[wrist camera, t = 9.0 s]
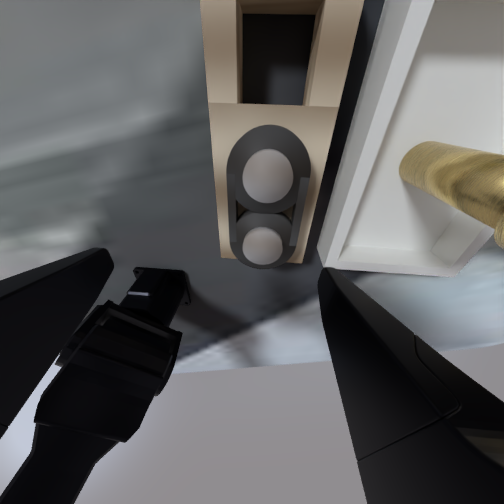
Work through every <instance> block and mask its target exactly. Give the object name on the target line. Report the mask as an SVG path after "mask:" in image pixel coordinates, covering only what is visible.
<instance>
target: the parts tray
mask: <svg viewBox="0 0 504 504" xmlns="http://www.w3.org/2000/svg"><path fill="white" fill-rule="evenodd" d="M426 141H436V142H441V143H446V144H451V145H456V146H461V147H466V148H471V149H476V150H481V151H486V152H491V153H497V154H502V155H504V0H385V3H384V6H383V10H382V13H381V17H380V21H379V24H378V28H377V31H376V35H375V39H374V42H373V46H372V50H371V53H370V57H369V60H368V64H367V68H366V71H365V75H364V78H363V82H362V86H361V89H360V93H359V96H358V100H357V104H356V107H355V111H354V114H353V118H352V122H351V125H350V129H349V132H348V136H347V140H346V143H345V147H344V151H343V154H342V158H341V161H340V165H339V169H338V172H337V176H336V179H335V183H334V187H333V190H332V194H331V197H330V201H329V205H328V208H327V212H326V215H325V219H324V223H323V226H322V230H321V234H320V237H319V241H318V244H317V250H318V253H319V255H320V258H321V261H322V264H323V267H333V268H335V269H343V270H358V271H372V272H386V273H401V274H415V275H429V276H443V277H455V276H456V275H457V274H458V273H459V272H460V270H461V269H462V268H463V267H464V266H465V265H466V264H467V263H468V261H469V260H470V259H471V258H472V257H473V256H474V255H475V254H476V253H477V251H478V250H479V249H480V248H481V247H482V246H483V245H484V244H485V242H486V241H487V240H488V239H489V238H490V237H491V236H492V235H493V233H494V231H495V229H493V228H491V227H489V226H488V225H486V224H484V223H482V222H480V221H478V220H476V219H475V218H473V217H471V216H469V215H467V214H465V213H463V212H462V211H460V210H458V209H456V208H454V207H452V206H450V205H448V204H447V203H445V202H443V201H441V200H439V199H437V198H435V197H434V196H432V195H430V194H428V193H426V192H424V191H422V190H421V189H419V188H417V187H415V186H413V185H411V184H409V183H407V182H406V181H404V180H402V178H401V177H400V175H399V165H400V163H401V160H402V159H403V157H404V156H405V154H406V153H407V152H408V151H409V150H410V149H412V148H413V147H414V146H416V145H418V144H420V143H422V142H426Z"/></svg>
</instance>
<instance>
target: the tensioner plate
mask: <svg viewBox="0 0 504 504" xmlns="http://www.w3.org/2000/svg"><path fill="white" fill-rule="evenodd" d="M363 3H364V0H200V7H201V19H202V31H203V43H204V55H205V68H206V80H207V92H208V104H209V116H210V128H211V140H212V152H213V164H214V176H215V188H216V200H217V212H218V225H219V237H220V249H221V258H232V259H238V260H239V261H241V262H242V263H243V264H245V265H247V266H249V267H252V268H257V269H270V268H275V267H278V266H280V265H282V264H284V263H285V262H290V263H302V261H303V257H304V253H305V249H306V244H307V240H308V236H309V232H310V227H311V223H312V219H313V215H314V210H315V206H316V202H317V198H318V194H319V189H320V185H321V181H322V177H323V172H324V168H325V164H326V160H327V155H328V151H329V147H330V143H331V139H332V134H333V130H334V126H335V122H336V117H337V113H338V109H339V105H340V100H341V96H342V92H343V88H344V84H345V79H346V75H347V71H348V67H349V62H350V58H351V54H352V50H353V46H354V41H355V37H356V33H357V29H358V24H359V20H360V16H361V12H362V7H363ZM243 13H244V14H309V15H316V17H315V23H314V30H313V37H312V44H311V51H310V58H309V64H308V71H307V78H306V85H305V92H304V99H303V105H302V106H295V105H267V104H243Z"/></svg>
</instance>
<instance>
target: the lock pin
mask: <svg viewBox="0 0 504 504" xmlns="http://www.w3.org/2000/svg"><path fill="white" fill-rule="evenodd" d="M399 175H400V177H401V178H402V180H404V181H406V182H407V183H409V184H411V185H413V186H415V187H417V188H419V189H421V190H422V191H424V192H426V193H428V194H430V195H432V196H434V197H435V198H437V199H439V200H441V201H443V202H445V203H447V204H448V205H450V206H452V207H454V208H456V209H458V210H460V211H462V212H463V213H465V214H467V215H469V216H471V217H473V218H475V219H476V220H478V221H480V222H482V223H484V224H486V225H488V226H489V227H491V228H493V229H495V231H494V238H495V241H496V243H497V244H498V245H499V246H500V247H501V248H503V249H504V155H502V154H497V153H491V152H486V151H481V150H476V149H471V148H466V147H461V146H456V145H451V144H446V143H441V142H436V141H426V142H422V143H420V144H418V145H416V146H414V147H413V148H412V149H410V150H409V151H408V152H407V153H406V154H405V156H404V157H403V159H402V160H401V163H400V165H399Z"/></svg>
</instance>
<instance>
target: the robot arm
mask: <svg viewBox="0 0 504 504" xmlns="http://www.w3.org/2000/svg"><path fill="white" fill-rule="evenodd" d="M113 269H114V263H113V260H112V258H111V256H110V254H109V252H108V250H107V249H105V248H92V249H89V250H86V251H83V252H80V253H77V254H74V255H72V256H69V257H66V258H63V259H60V260H57V261H55V262H52V263H49V264H46V265H43V266H40V267H37V268H35V269H32V270H29V271H26V272H23V273H20V274H17V275H15V276H12V277H9V278H6V279H3V280H0V439H1V437H2V436H3V435H4V433H5V432H6V430H7V429H8V426H9V425H10V424H11V423H12V421H13V420H14V418H15V417H16V415H17V414H18V412H19V411H20V410H21V408H22V407H23V405H24V404H25V402H26V401H27V399H28V398H29V397H30V395H31V394H32V392H33V391H34V389H35V388H36V387H37V385H38V384H39V382H40V381H41V379H42V378H43V376H44V375H45V374H46V372H47V371H48V369H49V368H50V366H51V365H52V363H53V362H54V361H55V359H56V358H57V356H58V355H60V356H59V358H58V359H57V361H56V363H55V365H57V366H60V367H62V368H61V369H60V371H59V372H58V373H57V375H56V376H55V377H54V379H53V380H52V381H51V383H50V384H49V385H48V387H47V388H46V389H45V391H44V392H43V394H42V395H41V398H40V401H39V403H38V405H37V409H36V414H35V417H34V423H36V427H35V432H34V438H33V444H32V450H31V452H30V454H29V456H28V457H27V459H26V460H25V461H24V463H23V464H22V466H21V467H20V469H19V470H18V471H17V473H16V474H15V476H14V477H13V479H12V480H11V482H10V483H9V485H8V486H7V487H6V489H5V490H4V492H3V493H2V495H1V496H0V504H74V503H75V501H76V499H77V497H78V495H79V493H80V491H81V490H82V488H83V486H84V484H85V482H86V480H87V478H88V476H89V475H90V473H91V471H92V469H93V467H94V466H95V464H96V463H97V462H98V461H99V460H100V459H101V458H102V457H103V456H104V455H105V454H106V453H107V452H109V451H110V450H111V449H112V448H113V447H114V446H115V445H116V444H117V443H118V442H124V443H125V442H127V440H129V439H130V438H131V436H132V435H133V434H134V433H135V432H136V431H137V430H138V429H139V427H140V425H141V423H142V421H143V418H144V416H145V413H146V411H147V409H148V407H149V405H150V403H151V401H152V400H153V397H154V396H158V395H159V394H160V393H161V391H162V390H163V388H164V387H165V385H166V383H167V382H168V379H169V377H170V375H171V373H172V371H173V368H174V365H175V361H176V357H177V353H178V349H179V345H180V341H181V338H182V334H183V333H182V332H180V331H175V330H173V329H171V328H169V326H170V324H171V321H172V319H173V317H174V315H175V313H176V311H177V308H178V306H179V305H190V303H191V300H190V296H189V292H188V288H187V284H186V279H185V275H184V272H183V271H181V270H170V269H156V268H143V267H136V268H135V269H134V270H133V272H134V275H135V277H136V279H137V280H136V281H135V282H134V284H133V285H132V286H131V288H130V289H129V290H128V291H127V295H126V296H125V298H124V299H123V300H122V302H121V303H120V304H119V305H117V304H115V303H113V301H110V300H108V301H107V302H106V303H105V304H104V305H97V306H96V307H95V309H94V310H93V311H92V312H91V313H90V314H89V315H88V316H87V317H86V318H85V319H84V317H85V316H86V314H87V313H88V311H89V310H90V309H91V307H92V306H93V304H94V303H95V301H96V300H97V298H98V296H99V294H100V293H101V291H102V289H103V287H104V285H105V284H106V282H107V280H108V278H109V276H110V275H111V273H112V271H113ZM318 294H319V302H320V310H321V317H322V322H323V327H324V331H325V335H326V339H327V343H328V347H329V351H330V355H331V359H332V363H333V367H334V371H335V375H336V379H337V383H338V387H339V391H340V395H341V399H342V403H343V407H344V411H345V415H346V419H347V423H348V427H349V431H350V435H351V439H352V443H353V447H354V451H355V455H356V459H357V461H358V462H357V464H358V468H359V472H360V476H361V480H362V484H363V488H364V492H365V496H366V500H367V504H504V402H503V401H501V400H500V399H498V398H497V397H496V396H495V395H493V394H492V393H490V392H489V391H487V389H485V388H484V387H482V386H481V385H480V384H478V383H477V382H476V381H474V380H473V379H472V378H470V377H469V376H468V375H466V374H465V373H464V372H462V371H461V370H460V369H458V368H457V367H456V366H454V365H453V364H452V363H450V362H449V361H448V360H446V359H445V358H444V357H443V356H442V355H440V354H439V353H438V352H437V351H435V350H434V349H433V348H432V347H430V346H429V345H428V344H427V343H425V342H424V341H423V340H422V339H421V338H419V337H418V336H417V335H414V333H413V332H412V331H411V330H410V329H408V328H407V327H406V326H405V325H403V324H402V323H401V322H400V321H399V320H397V319H396V318H395V317H394V316H393V315H391V314H390V313H389V312H388V311H386V310H385V309H384V308H383V307H382V306H380V305H379V304H378V303H377V302H376V301H374V300H373V299H372V298H371V297H369V296H368V295H367V294H366V293H365V292H363V291H362V290H361V289H360V288H358V287H357V286H356V285H355V284H354V283H352V282H351V281H350V280H349V279H348V278H346V277H345V276H344V275H343V274H341V273H340V272H339V271H338V270H337V269H335V268H333V267H324V268H323V269H322V271H321V274H320V277H319V280H318ZM83 319H84V320H83ZM82 320H83V321H82ZM61 350H62V351H61ZM59 353H60V354H59Z"/></svg>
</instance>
